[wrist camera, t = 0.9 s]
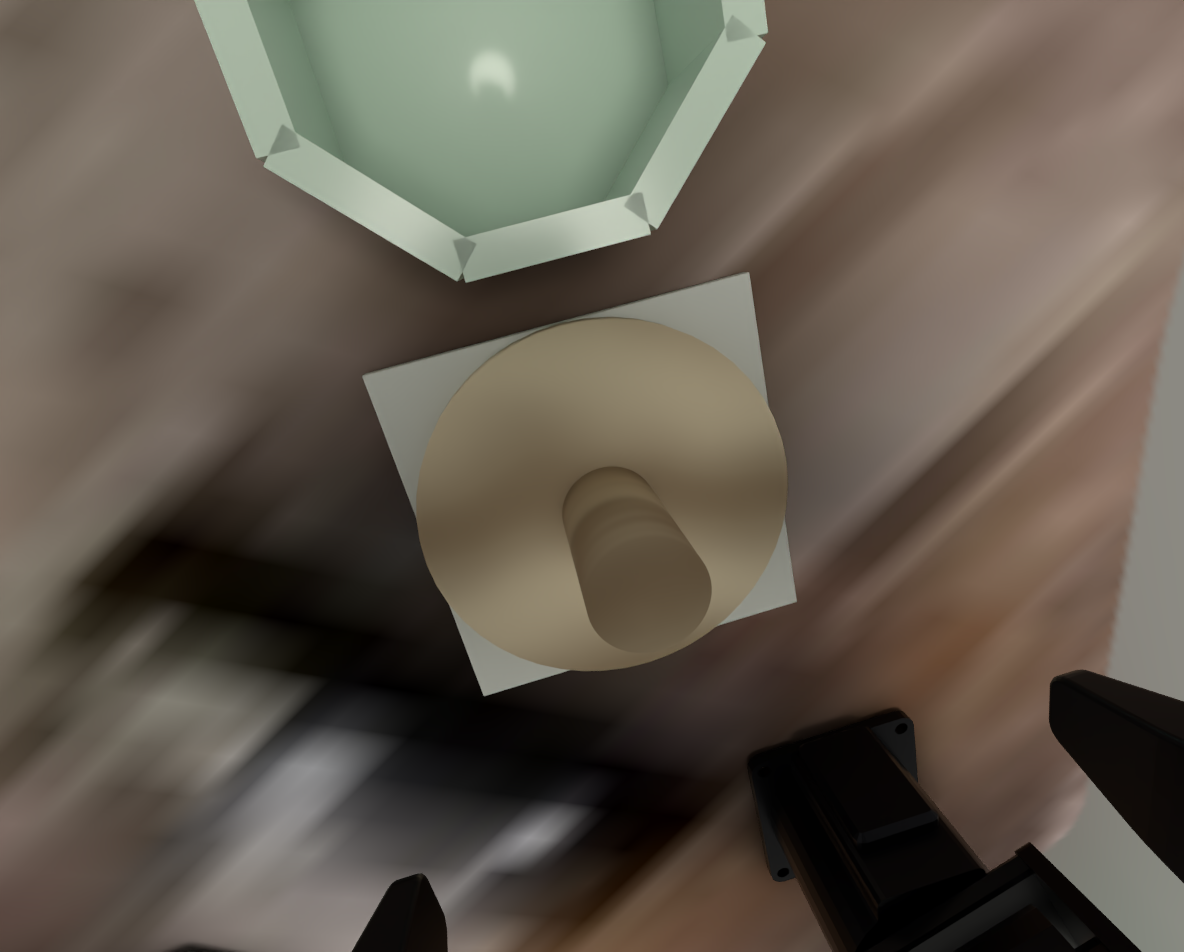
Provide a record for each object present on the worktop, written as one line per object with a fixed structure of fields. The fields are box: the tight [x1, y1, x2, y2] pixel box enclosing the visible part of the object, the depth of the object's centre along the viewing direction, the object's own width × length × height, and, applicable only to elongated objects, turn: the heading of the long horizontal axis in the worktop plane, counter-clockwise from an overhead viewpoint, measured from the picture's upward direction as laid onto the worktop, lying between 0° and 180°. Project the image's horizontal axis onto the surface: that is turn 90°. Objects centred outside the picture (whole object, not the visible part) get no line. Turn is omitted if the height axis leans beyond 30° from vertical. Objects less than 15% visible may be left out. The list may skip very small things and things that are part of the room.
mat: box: [362, 272, 797, 696], centre depth 19 cm, size 11×11×1 cm
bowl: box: [194, 0, 768, 283], centre depth 13 cm, size 10×10×5 cm
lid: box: [416, 317, 788, 671], centre depth 16 cm, size 11×11×6 cm
